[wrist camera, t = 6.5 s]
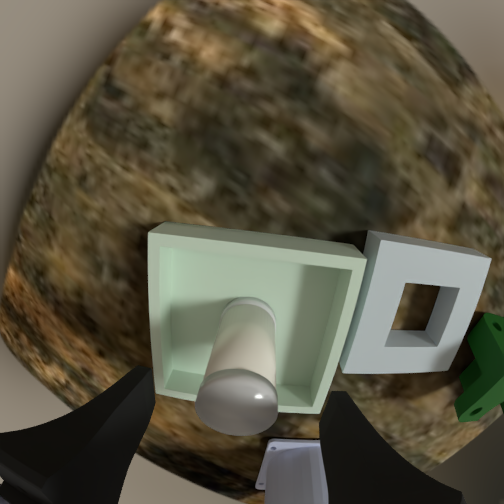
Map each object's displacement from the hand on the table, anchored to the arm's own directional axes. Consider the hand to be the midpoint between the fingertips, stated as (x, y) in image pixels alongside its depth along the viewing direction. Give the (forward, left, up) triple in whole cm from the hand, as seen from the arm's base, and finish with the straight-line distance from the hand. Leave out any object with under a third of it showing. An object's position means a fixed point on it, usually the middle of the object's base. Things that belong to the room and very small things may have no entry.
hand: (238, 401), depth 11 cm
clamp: (-2, -21, -7) cm, 22 cm away
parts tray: (0, 0, -7) cm, 7 cm away
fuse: (0, 0, -6) cm, 6 cm away
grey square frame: (+2, -10, -7) cm, 12 cm away
